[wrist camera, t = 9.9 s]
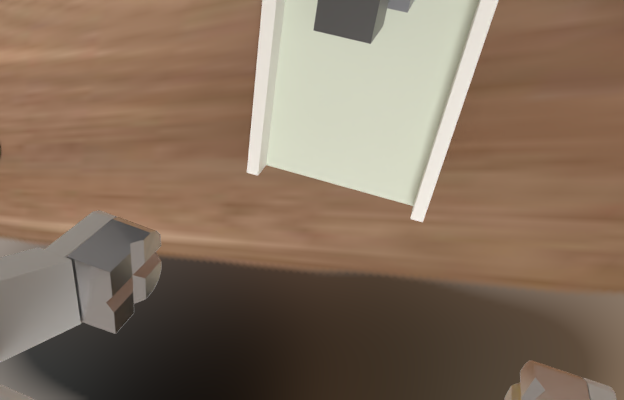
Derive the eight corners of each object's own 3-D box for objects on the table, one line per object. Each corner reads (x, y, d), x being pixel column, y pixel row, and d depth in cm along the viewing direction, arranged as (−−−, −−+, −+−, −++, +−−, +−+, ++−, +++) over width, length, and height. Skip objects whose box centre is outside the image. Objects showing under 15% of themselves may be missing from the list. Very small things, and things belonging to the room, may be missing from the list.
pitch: (554, -178, 28) (576, -198, 22) (425, 203, 42) (416, 258, 36) (299, -219, 30) (250, -248, 24) (259, 156, 45) (223, 201, 38)
